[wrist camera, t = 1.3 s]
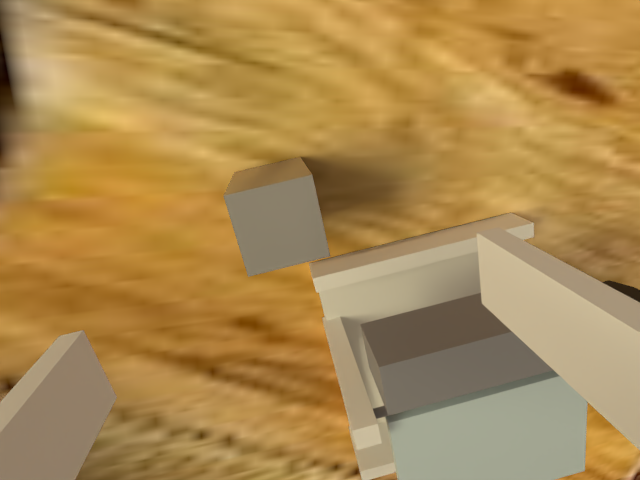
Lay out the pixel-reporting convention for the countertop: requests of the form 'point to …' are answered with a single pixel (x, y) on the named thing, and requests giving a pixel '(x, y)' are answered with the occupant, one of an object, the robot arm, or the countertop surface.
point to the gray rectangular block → (276, 216)
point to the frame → (392, 312)
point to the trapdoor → (472, 398)
